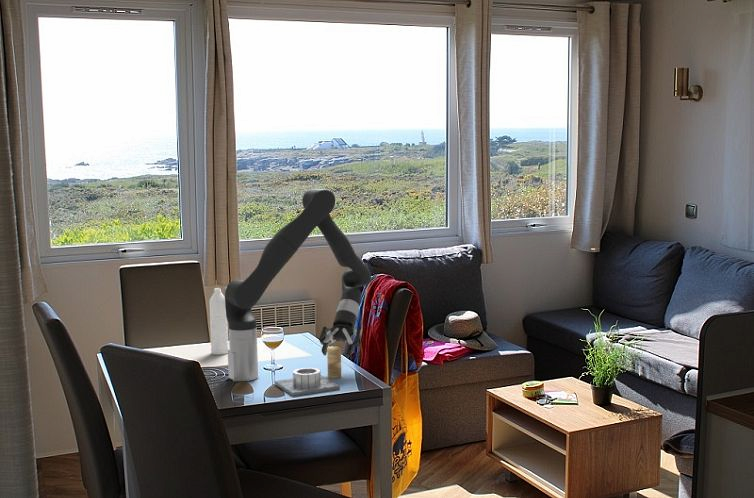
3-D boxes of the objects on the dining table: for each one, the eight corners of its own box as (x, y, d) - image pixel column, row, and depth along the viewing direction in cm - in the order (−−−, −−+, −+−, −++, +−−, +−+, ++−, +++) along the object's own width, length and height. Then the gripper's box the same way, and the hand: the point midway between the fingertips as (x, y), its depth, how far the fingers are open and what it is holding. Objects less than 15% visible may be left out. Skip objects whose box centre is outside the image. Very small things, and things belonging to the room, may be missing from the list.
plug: (331, 379, 289) (330, 349, 288) (325, 376, 293) (324, 347, 292) (343, 377, 292) (343, 348, 290) (338, 374, 296) (337, 345, 294)
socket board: (293, 396, 270) (292, 380, 269) (274, 384, 284) (274, 369, 283) (339, 389, 277) (339, 373, 276) (319, 378, 291) (319, 362, 291)
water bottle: (212, 355, 326) (209, 289, 323) (210, 351, 332) (208, 287, 329) (235, 353, 328) (233, 288, 325) (233, 350, 334) (231, 285, 332)
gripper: (324, 308, 302) (313, 347, 293) (363, 309, 298) (353, 350, 288) (330, 320, 308) (319, 359, 298) (368, 322, 304) (358, 362, 294)
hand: (335, 354), depth 293 cm, fingers open, 8 cm apart
